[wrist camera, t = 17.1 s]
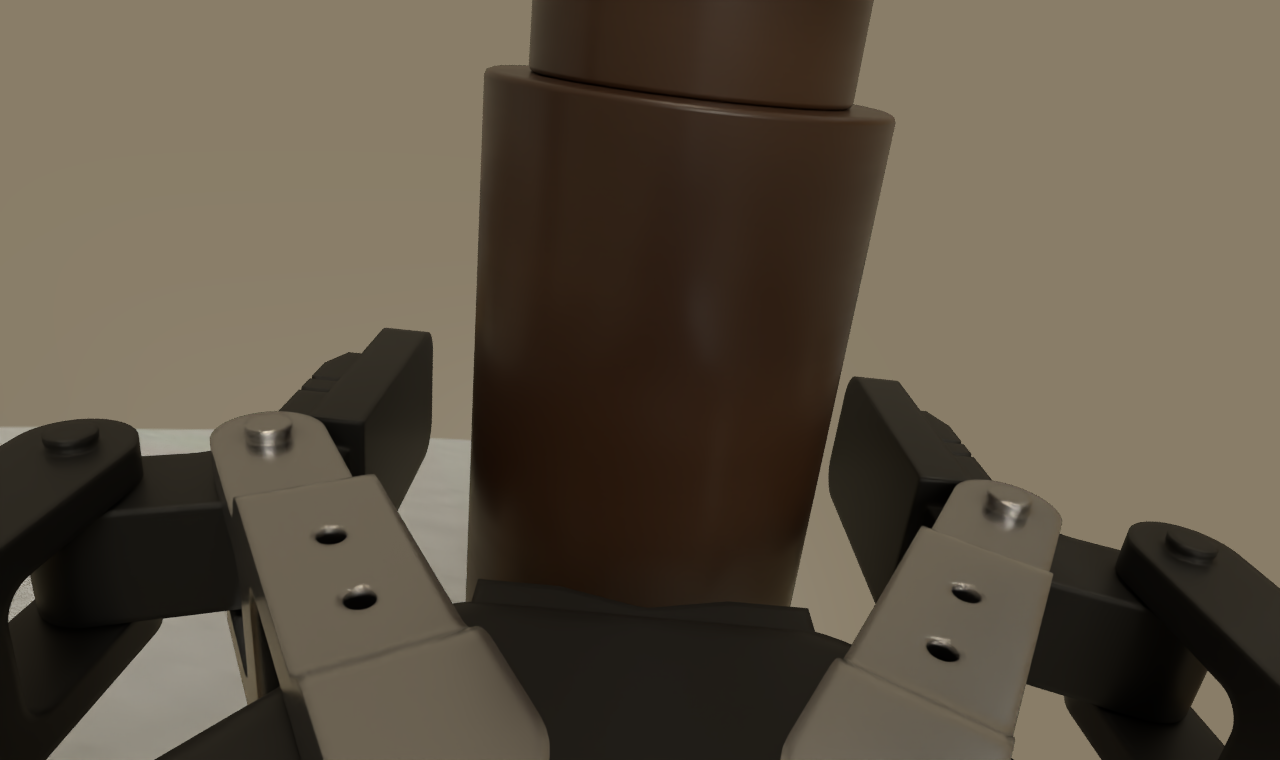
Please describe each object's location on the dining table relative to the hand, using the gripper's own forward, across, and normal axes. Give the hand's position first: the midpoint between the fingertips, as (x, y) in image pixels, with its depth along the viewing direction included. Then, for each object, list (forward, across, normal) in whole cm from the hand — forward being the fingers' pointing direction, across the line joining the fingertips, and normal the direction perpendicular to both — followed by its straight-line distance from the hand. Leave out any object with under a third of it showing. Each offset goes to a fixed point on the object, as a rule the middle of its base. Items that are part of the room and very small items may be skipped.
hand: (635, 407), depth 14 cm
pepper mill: (-2, 0, +13) cm, 13 cm away
